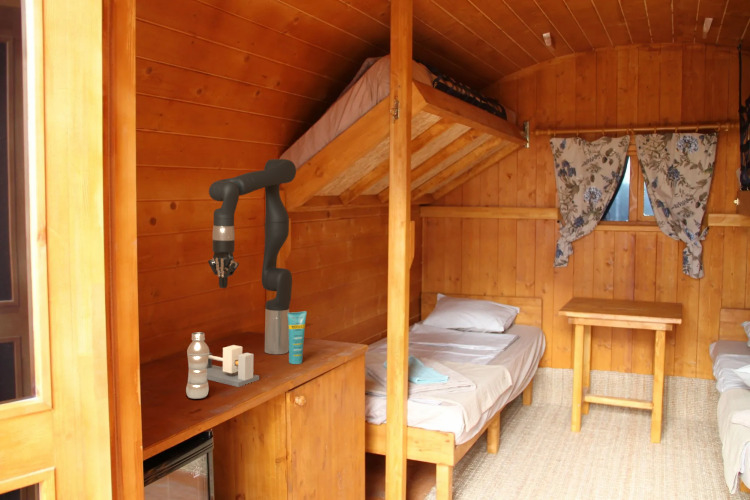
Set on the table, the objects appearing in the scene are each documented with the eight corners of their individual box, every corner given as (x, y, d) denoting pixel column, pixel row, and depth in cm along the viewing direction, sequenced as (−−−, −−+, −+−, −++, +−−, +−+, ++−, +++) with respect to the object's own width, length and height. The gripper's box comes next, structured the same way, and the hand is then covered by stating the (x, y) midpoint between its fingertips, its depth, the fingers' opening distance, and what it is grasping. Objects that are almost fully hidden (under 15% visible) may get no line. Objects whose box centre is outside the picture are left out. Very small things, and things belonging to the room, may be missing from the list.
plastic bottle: (188, 394, 207) (188, 331, 205) (210, 394, 207) (211, 331, 205) (184, 401, 200) (184, 335, 198) (206, 401, 201) (207, 336, 199)
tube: (289, 365, 244) (290, 313, 242) (283, 362, 248) (284, 311, 246) (307, 363, 248) (309, 312, 246) (301, 360, 252) (303, 309, 250)
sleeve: (233, 368, 227) (233, 345, 226) (242, 370, 225) (242, 346, 224) (222, 371, 222) (223, 347, 222) (231, 373, 220) (231, 349, 220)
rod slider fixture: (211, 368, 236) (212, 342, 235) (259, 380, 224) (259, 352, 223) (190, 375, 227) (190, 347, 226) (238, 387, 216) (238, 358, 215)
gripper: (245, 239, 233) (244, 288, 234) (217, 236, 239) (217, 284, 241) (230, 240, 226) (229, 291, 228) (202, 237, 233) (201, 286, 235)
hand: (223, 287), depth 234 cm, fingers closed
